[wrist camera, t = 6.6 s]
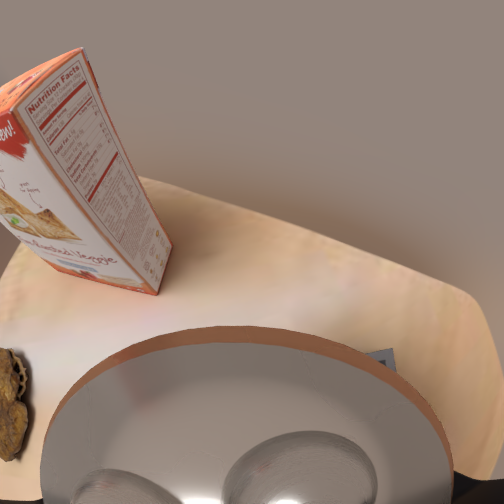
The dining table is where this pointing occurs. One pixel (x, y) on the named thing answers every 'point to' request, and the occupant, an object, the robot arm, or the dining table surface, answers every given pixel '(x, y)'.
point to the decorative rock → (11, 404)
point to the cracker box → (75, 180)
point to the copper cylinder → (244, 426)
